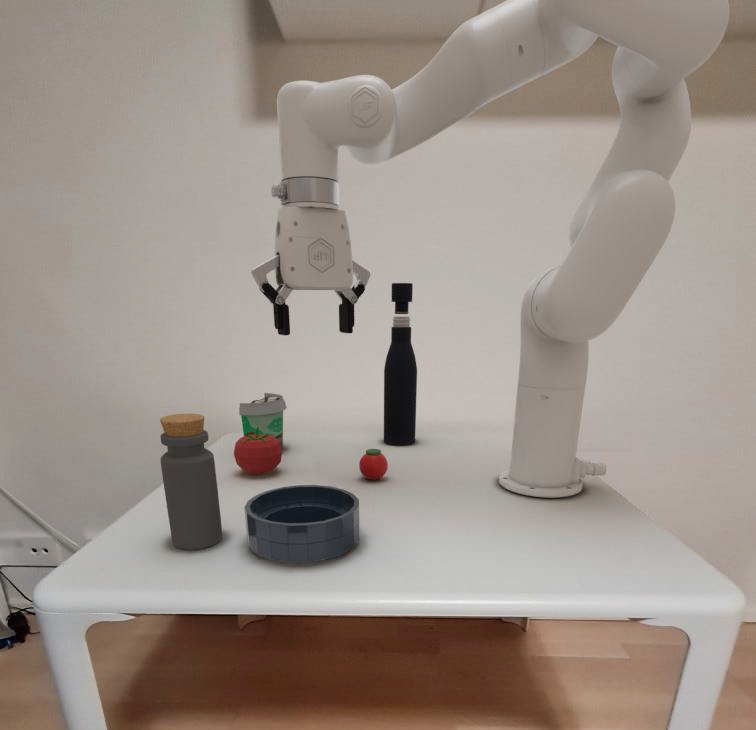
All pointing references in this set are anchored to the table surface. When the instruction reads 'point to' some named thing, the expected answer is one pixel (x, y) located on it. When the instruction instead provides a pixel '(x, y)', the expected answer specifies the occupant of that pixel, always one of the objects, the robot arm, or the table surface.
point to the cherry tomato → (373, 464)
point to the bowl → (302, 523)
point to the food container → (264, 416)
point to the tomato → (258, 453)
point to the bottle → (190, 483)
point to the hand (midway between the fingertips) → (315, 333)
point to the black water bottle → (400, 374)
